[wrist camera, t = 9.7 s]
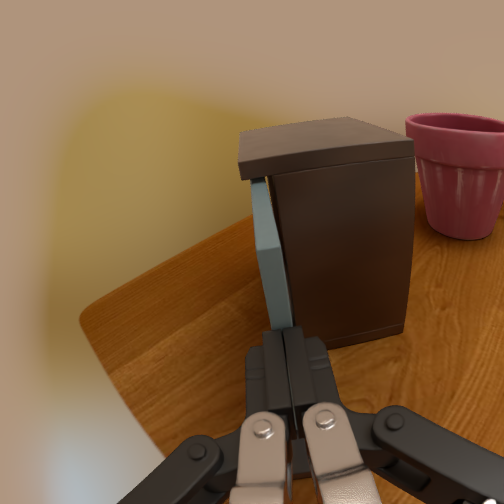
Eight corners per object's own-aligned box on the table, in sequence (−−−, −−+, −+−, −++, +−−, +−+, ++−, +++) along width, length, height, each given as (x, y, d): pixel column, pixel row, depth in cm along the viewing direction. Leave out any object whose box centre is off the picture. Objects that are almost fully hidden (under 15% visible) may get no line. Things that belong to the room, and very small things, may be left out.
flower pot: (431, 259, 28) (437, 130, 22) (393, 206, 41) (388, 112, 35) (530, 244, 26) (544, 135, 20) (477, 199, 38) (479, 113, 32)
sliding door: (286, 432, 15) (245, 251, 10) (271, 305, 26) (244, 165, 20) (306, 428, 15) (281, 245, 10) (284, 302, 26) (260, 162, 20)
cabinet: (290, 480, 14) (231, 257, 7) (266, 270, 33) (239, 132, 26) (453, 436, 13) (543, 203, 7) (358, 254, 32) (348, 116, 25)
